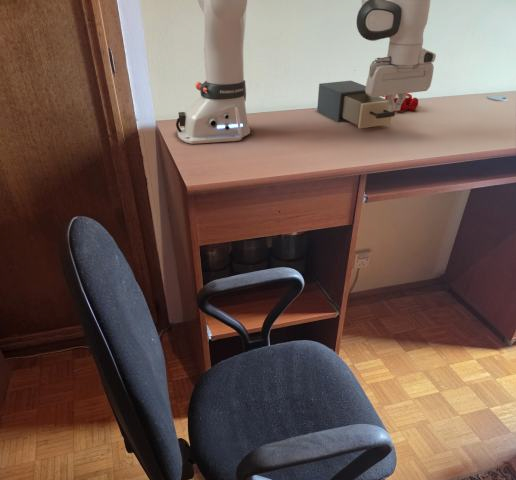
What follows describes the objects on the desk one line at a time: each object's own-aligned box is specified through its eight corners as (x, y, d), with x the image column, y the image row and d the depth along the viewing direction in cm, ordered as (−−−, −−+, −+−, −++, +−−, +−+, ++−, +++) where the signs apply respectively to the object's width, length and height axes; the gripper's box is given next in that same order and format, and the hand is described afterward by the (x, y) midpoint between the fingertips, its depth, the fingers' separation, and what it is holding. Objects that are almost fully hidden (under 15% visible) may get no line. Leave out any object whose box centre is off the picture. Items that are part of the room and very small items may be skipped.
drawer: (399, 128, 140) (404, 104, 135) (368, 132, 136) (371, 108, 132) (366, 113, 152) (370, 91, 148) (337, 117, 149) (340, 94, 145)
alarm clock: (400, 91, 165) (427, 89, 153) (399, 110, 168) (425, 110, 156) (376, 93, 162) (401, 92, 150) (375, 113, 165) (400, 113, 153)
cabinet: (370, 117, 152) (374, 89, 147) (337, 121, 149) (340, 92, 143) (347, 107, 162) (350, 80, 157) (317, 111, 159) (319, 83, 153)
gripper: (378, 60, 118) (369, 117, 127) (441, 54, 123) (428, 109, 133) (364, 56, 122) (357, 112, 131) (426, 51, 128) (415, 104, 137)
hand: (394, 110), depth 132 cm, fingers closed
